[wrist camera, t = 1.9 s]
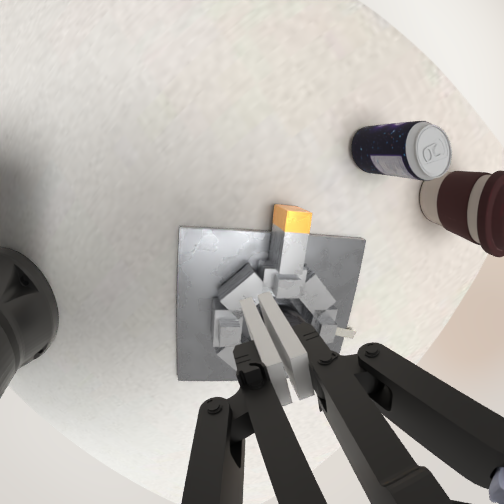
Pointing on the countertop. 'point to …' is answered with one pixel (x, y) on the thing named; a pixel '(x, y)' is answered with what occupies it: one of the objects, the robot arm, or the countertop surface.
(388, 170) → the beverage can
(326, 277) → the flange plate
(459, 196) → the coffee cup
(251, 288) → the segmented block ring
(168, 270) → the countertop surface
